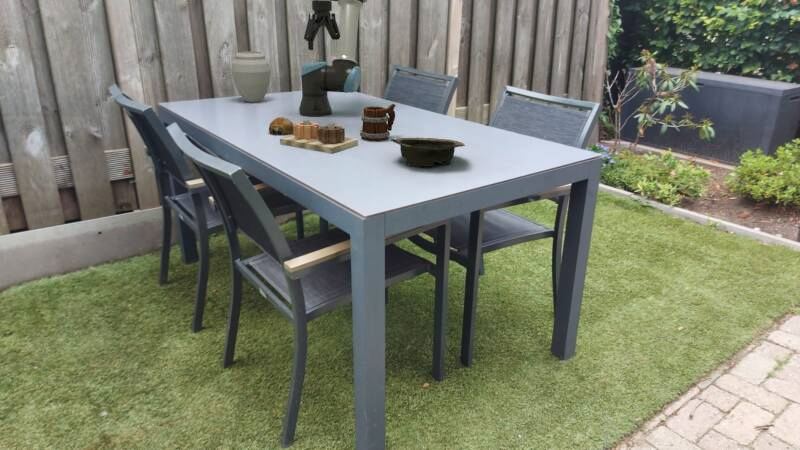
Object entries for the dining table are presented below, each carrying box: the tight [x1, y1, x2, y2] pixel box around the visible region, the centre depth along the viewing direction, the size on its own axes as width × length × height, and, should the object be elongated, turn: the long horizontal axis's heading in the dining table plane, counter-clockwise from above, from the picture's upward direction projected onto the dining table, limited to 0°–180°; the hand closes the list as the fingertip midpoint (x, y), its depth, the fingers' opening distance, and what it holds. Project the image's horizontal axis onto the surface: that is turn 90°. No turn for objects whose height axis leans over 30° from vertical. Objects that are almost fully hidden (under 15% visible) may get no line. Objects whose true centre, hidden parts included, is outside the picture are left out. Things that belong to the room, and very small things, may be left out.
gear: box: [293, 121, 321, 139], centre depth 211 cm, size 10×10×5 cm
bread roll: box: [268, 116, 294, 136], centre depth 226 cm, size 10×10×8 cm
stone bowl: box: [390, 137, 466, 168], centre depth 191 cm, size 25×25×9 cm
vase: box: [230, 50, 272, 103], centre depth 287 cm, size 20×20×24 cm
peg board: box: [279, 120, 359, 155], centre depth 209 cm, size 24×16×8 cm, turn 60°
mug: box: [359, 103, 396, 142], centre depth 220 cm, size 12×14×15 cm
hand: (323, 57), depth 224 cm, fingers open, 13 cm apart
